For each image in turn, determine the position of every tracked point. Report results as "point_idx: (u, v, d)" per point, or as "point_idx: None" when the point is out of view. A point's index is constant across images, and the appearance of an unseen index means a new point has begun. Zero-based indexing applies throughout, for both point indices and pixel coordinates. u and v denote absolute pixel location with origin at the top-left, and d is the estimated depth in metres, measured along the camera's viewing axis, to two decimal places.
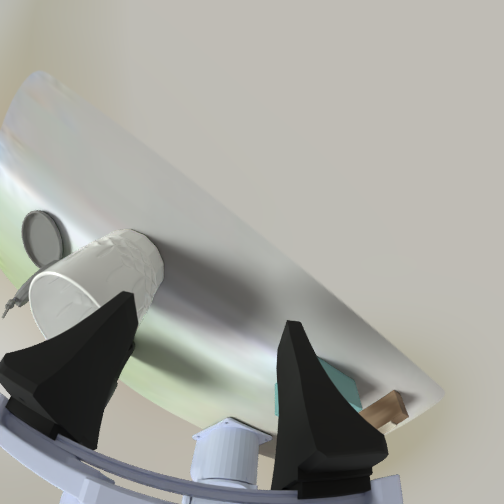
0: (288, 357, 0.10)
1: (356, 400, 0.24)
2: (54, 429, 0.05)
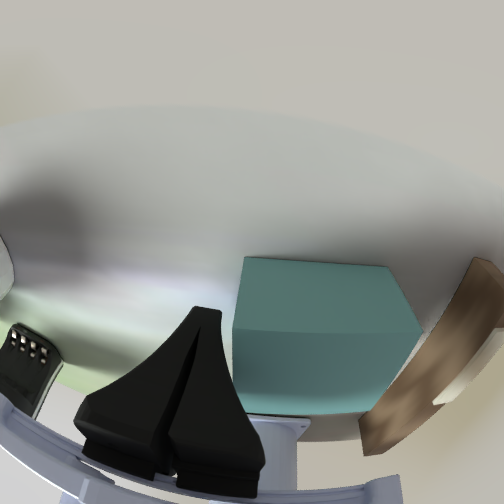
0: None
1: (396, 315, 0.09)
2: (153, 470, 0.05)
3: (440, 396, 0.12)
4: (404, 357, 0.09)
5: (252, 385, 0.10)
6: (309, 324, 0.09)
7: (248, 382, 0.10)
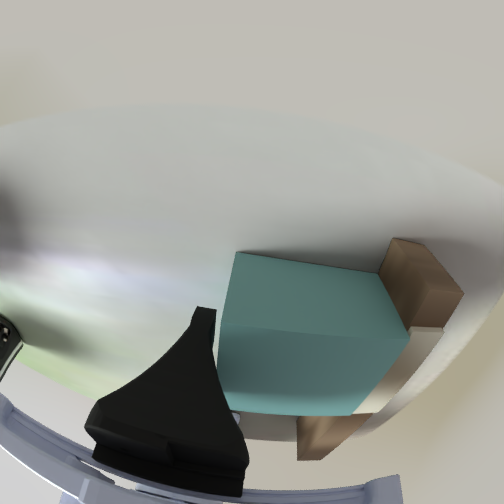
0: None
1: (384, 321, 0.09)
2: (165, 473, 0.05)
3: None
4: (389, 364, 0.09)
5: (235, 381, 0.10)
6: (298, 323, 0.09)
7: (231, 379, 0.10)
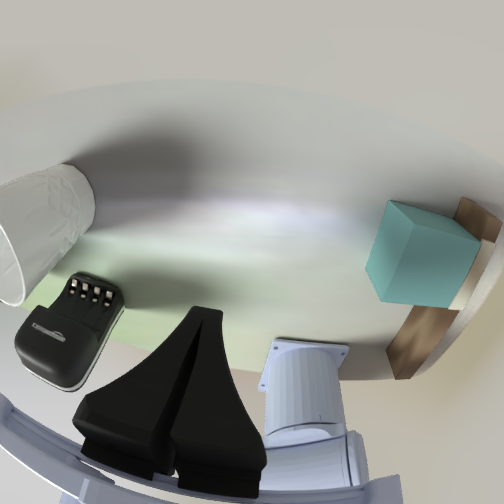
0: None
1: (468, 235, 0.15)
2: (152, 469, 0.05)
3: None
4: (472, 260, 0.15)
5: (404, 271, 0.16)
6: (439, 228, 0.15)
7: (403, 269, 0.16)
